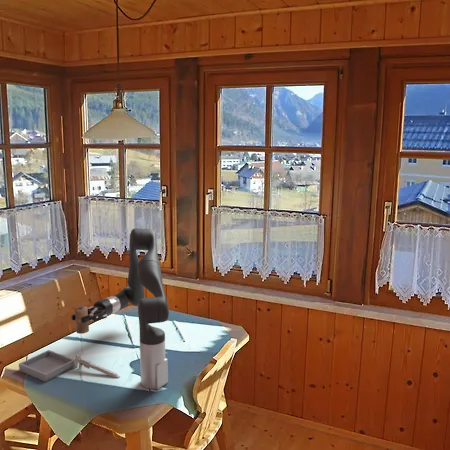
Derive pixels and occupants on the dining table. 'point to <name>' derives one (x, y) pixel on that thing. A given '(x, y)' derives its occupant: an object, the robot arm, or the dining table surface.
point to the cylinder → (79, 313)
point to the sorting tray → (47, 365)
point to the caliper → (92, 366)
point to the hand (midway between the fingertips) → (76, 319)
